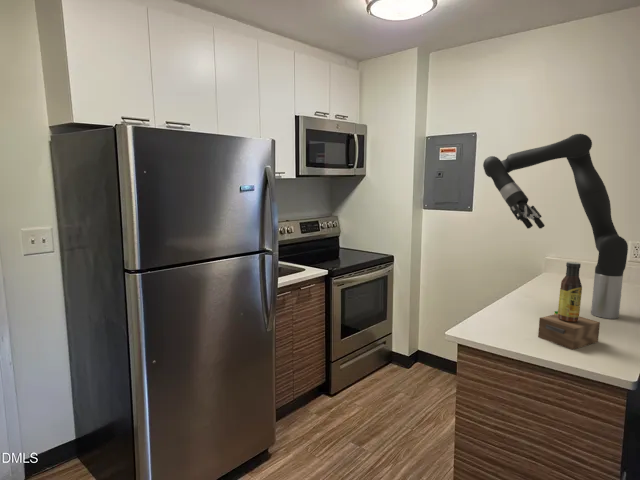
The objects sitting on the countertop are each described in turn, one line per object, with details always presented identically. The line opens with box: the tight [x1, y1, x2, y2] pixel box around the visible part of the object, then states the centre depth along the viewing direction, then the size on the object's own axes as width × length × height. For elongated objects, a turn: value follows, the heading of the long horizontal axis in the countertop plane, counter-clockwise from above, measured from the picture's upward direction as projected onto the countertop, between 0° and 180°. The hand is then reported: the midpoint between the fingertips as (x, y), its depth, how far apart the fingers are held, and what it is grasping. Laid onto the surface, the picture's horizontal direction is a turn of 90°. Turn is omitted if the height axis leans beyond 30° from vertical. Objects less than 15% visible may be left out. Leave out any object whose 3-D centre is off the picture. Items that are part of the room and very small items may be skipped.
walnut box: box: [537, 314, 601, 350], centre depth 136 cm, size 15×12×7 cm
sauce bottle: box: [557, 261, 583, 322], centre depth 135 cm, size 6×6×20 cm
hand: (536, 227), depth 157 cm, fingers open, 8 cm apart
